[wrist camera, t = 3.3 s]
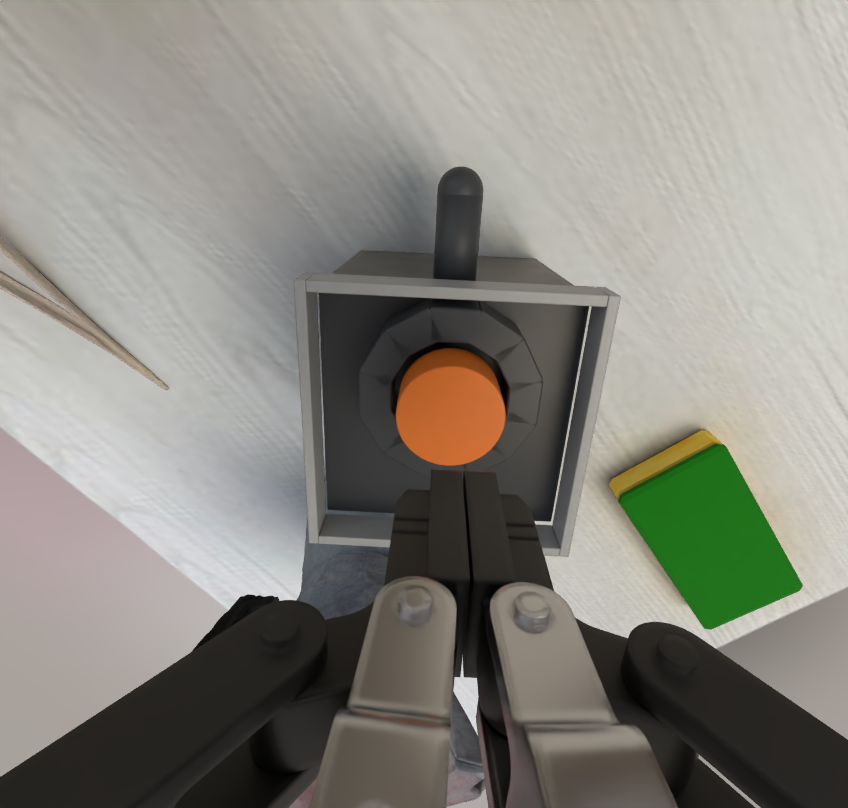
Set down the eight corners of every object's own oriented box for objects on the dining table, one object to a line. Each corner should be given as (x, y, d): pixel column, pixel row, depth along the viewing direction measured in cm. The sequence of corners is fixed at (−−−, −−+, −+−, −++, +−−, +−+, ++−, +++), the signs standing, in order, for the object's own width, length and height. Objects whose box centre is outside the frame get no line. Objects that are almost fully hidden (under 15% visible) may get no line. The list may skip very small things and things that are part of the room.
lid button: (398, 436, 19) (394, 463, 17) (400, 344, 17) (396, 363, 15) (493, 441, 19) (499, 469, 17) (504, 349, 17) (512, 369, 15)
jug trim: (347, 437, 29) (309, 543, 21) (342, 167, 24) (285, 154, 15) (529, 447, 29) (568, 557, 21) (568, 178, 24) (646, 171, 15)
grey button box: (361, 410, 32) (317, 539, 20) (360, 250, 28) (304, 293, 16) (515, 418, 32) (561, 552, 20) (536, 258, 28) (608, 308, 16)
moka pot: (470, 573, 37) (501, 945, 19) (266, 562, 37) (100, 920, 19) (482, 463, 33) (535, 794, 15) (255, 450, 34) (34, 764, 15)
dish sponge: (705, 426, 32) (725, 443, 30) (783, 565, 36) (805, 590, 34) (605, 480, 34) (617, 500, 32) (691, 607, 38) (707, 632, 36)
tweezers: (-110, 206, 28) (-145, 209, 26) (-73, 141, 27) (-108, 139, 25) (157, 403, 34) (143, 416, 32) (198, 357, 33) (186, 368, 31)
